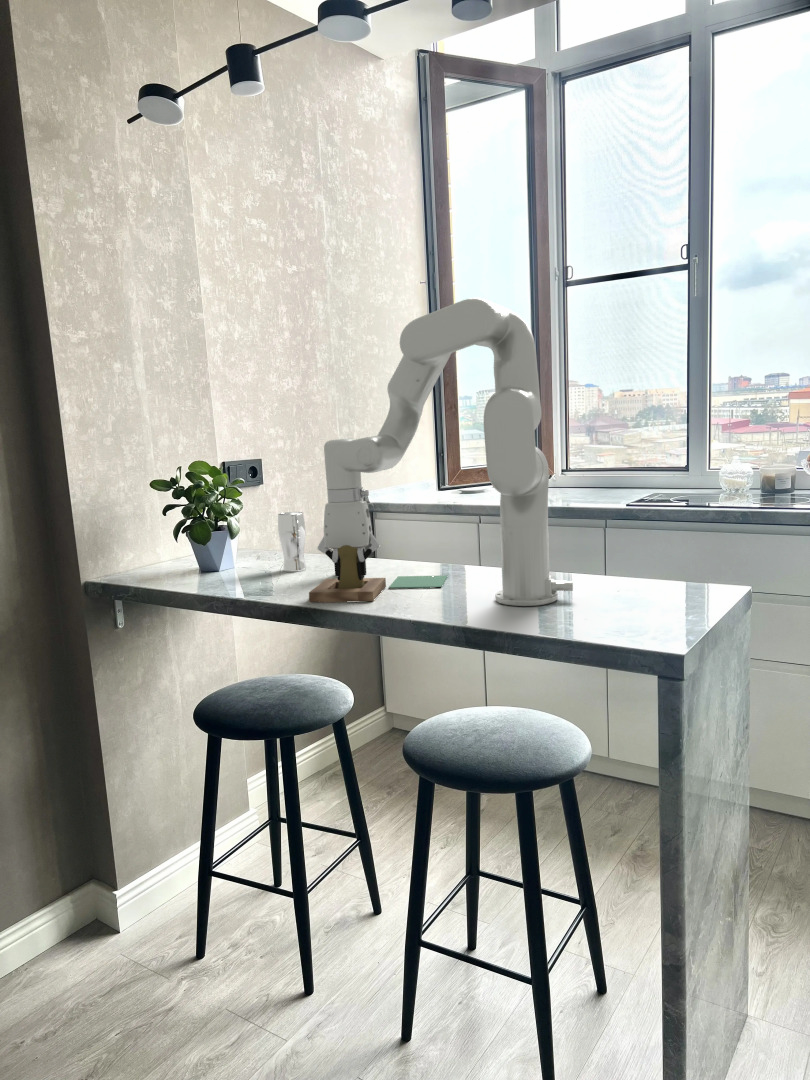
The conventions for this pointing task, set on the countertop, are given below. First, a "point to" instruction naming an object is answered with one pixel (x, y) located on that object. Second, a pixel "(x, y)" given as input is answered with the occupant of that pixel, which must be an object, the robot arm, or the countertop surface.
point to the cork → (349, 568)
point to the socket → (347, 591)
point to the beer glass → (292, 540)
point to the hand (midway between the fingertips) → (351, 578)
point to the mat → (418, 581)
